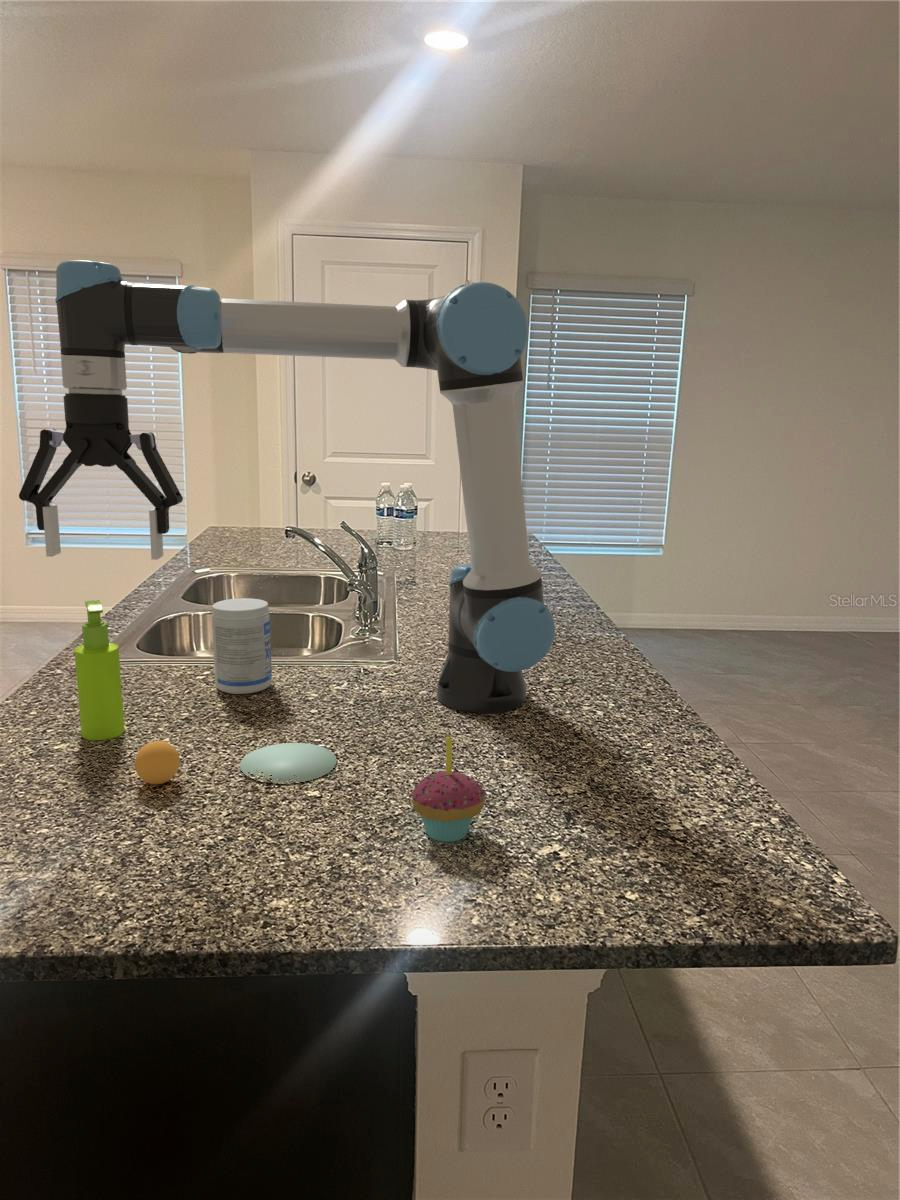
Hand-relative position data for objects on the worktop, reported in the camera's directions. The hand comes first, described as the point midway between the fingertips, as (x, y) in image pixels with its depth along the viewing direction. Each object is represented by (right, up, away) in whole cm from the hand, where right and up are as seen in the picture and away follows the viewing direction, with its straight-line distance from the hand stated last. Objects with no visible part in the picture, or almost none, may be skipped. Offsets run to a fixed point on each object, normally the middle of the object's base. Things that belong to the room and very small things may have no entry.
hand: (105, 556), depth 111 cm
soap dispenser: (-5, -26, +12) cm, 29 cm away
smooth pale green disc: (+24, -28, +4) cm, 37 cm away
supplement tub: (+10, -21, +33) cm, 40 cm away
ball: (+8, -27, -3) cm, 28 cm away
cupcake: (+46, -33, -13) cm, 58 cm away
